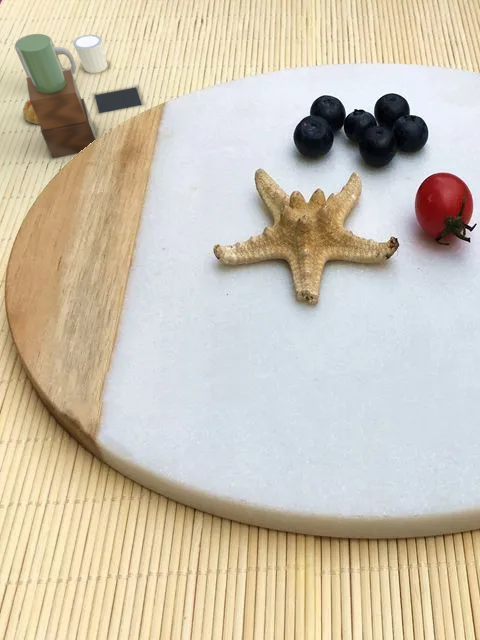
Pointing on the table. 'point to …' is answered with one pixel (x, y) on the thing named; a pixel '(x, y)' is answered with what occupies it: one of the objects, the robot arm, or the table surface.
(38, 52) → the green canister
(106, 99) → the slate mat
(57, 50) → the mug
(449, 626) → the table surface
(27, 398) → the table surface
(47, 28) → the table surface
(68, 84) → the walnut block
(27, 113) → the pastry
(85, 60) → the white cup
